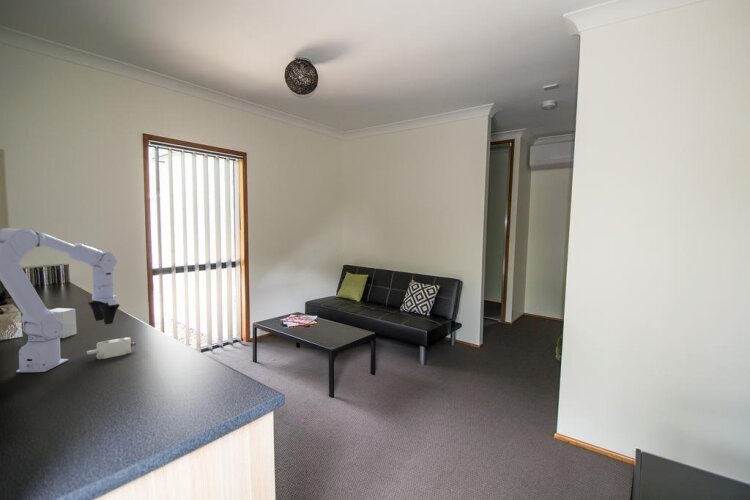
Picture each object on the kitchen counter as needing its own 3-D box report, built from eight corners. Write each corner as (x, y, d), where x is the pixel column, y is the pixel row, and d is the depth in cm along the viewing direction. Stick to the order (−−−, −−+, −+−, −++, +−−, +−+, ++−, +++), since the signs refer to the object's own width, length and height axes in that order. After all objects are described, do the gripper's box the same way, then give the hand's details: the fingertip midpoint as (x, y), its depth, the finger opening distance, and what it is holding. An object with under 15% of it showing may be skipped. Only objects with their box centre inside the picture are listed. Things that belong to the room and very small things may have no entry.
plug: (134, 349, 126) (134, 335, 126) (136, 352, 124) (136, 338, 123) (86, 358, 117) (86, 344, 116) (88, 361, 114) (87, 346, 114)
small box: (77, 334, 141) (76, 308, 140) (63, 338, 135) (62, 311, 135) (59, 333, 142) (58, 307, 141) (44, 337, 136) (43, 310, 135)
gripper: (125, 285, 125) (125, 322, 126) (107, 281, 133) (108, 316, 134) (102, 288, 119) (102, 327, 120) (84, 283, 127) (85, 320, 128)
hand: (104, 322), depth 127 cm, fingers open, 7 cm apart
